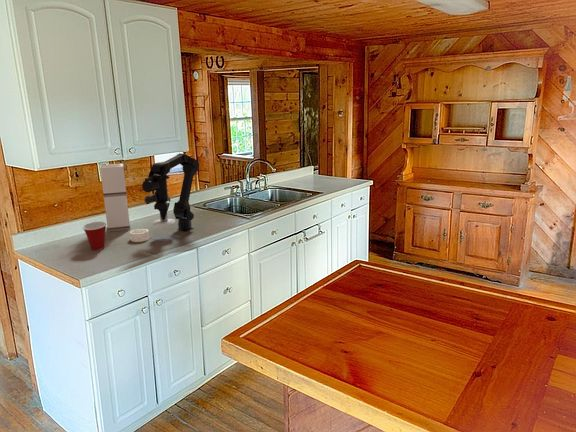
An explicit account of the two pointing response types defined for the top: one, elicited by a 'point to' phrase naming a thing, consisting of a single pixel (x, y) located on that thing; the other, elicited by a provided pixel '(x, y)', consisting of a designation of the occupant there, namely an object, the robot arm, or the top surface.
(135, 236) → the bowl
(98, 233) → the plastic cup
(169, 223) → the lid
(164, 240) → the mat
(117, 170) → the mini fridge
